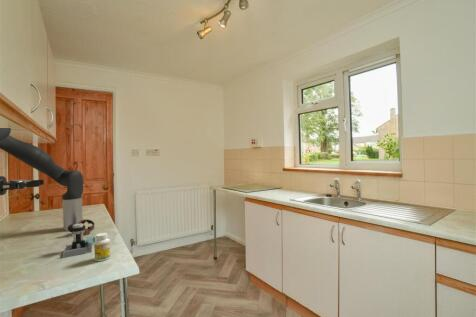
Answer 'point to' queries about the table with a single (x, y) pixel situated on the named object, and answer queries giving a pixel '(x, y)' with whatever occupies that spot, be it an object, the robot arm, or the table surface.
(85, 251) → the tray
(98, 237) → the supplement bottle
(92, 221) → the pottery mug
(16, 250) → the table surface
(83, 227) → the push button
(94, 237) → the clip
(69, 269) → the table surface
